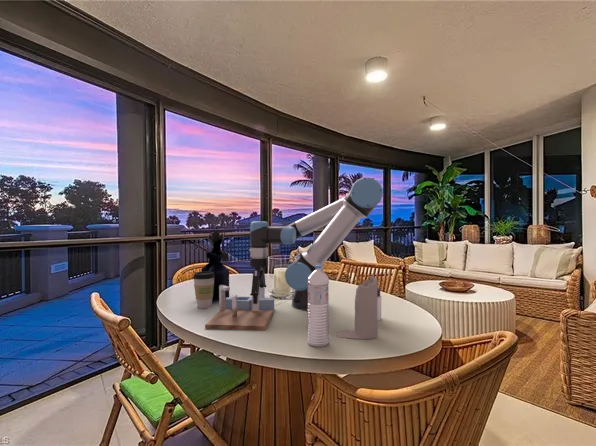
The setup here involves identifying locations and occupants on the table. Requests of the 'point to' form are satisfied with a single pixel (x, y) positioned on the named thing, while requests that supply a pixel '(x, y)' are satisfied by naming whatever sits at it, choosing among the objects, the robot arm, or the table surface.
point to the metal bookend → (364, 312)
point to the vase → (217, 264)
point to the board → (240, 320)
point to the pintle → (234, 305)
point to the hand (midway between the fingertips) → (258, 306)
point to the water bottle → (318, 308)
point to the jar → (378, 305)
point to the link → (250, 303)
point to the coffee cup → (204, 288)
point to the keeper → (222, 296)
